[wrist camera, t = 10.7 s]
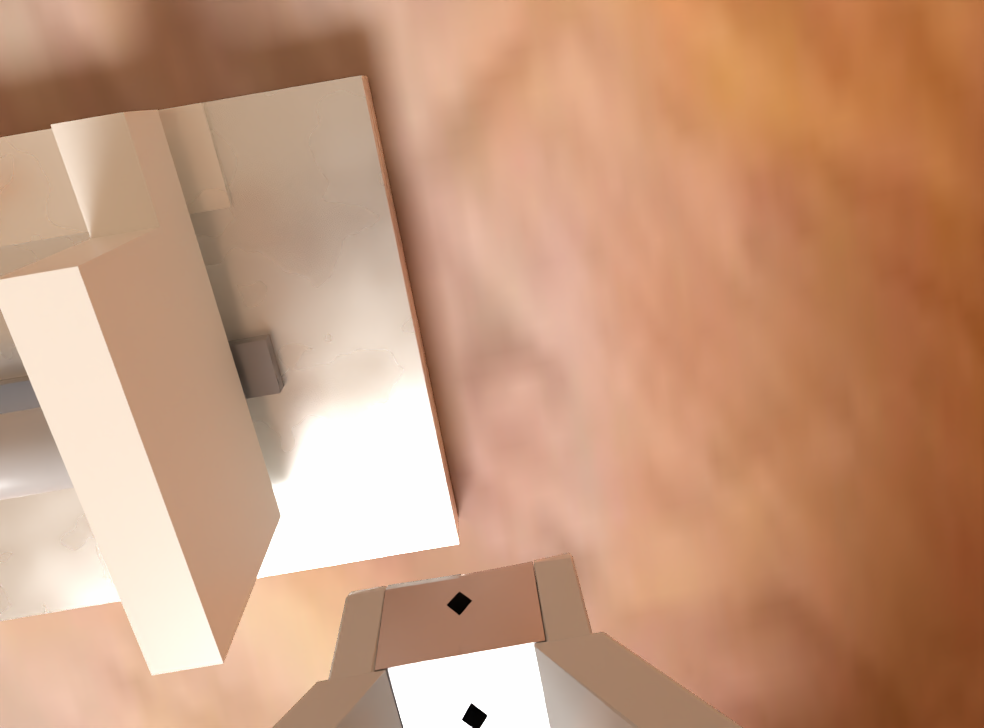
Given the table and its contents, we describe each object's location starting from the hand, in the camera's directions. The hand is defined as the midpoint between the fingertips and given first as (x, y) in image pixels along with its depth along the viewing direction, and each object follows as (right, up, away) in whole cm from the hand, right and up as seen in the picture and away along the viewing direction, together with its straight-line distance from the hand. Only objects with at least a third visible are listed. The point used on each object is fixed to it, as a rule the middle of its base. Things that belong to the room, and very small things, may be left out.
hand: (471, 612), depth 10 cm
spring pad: (-12, +3, +10) cm, 16 cm away
